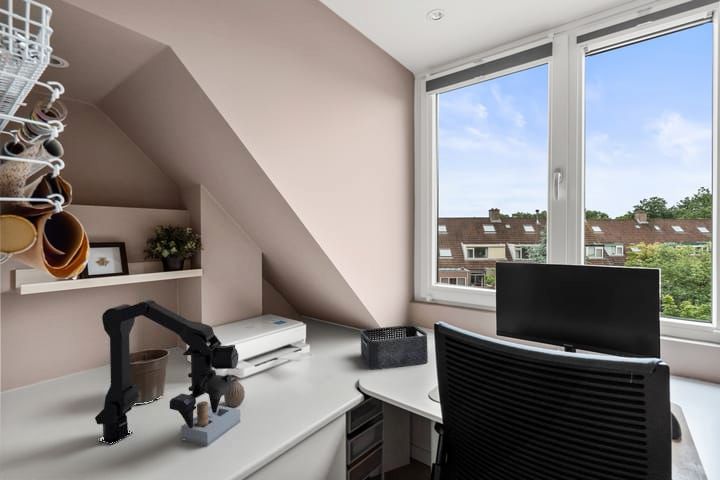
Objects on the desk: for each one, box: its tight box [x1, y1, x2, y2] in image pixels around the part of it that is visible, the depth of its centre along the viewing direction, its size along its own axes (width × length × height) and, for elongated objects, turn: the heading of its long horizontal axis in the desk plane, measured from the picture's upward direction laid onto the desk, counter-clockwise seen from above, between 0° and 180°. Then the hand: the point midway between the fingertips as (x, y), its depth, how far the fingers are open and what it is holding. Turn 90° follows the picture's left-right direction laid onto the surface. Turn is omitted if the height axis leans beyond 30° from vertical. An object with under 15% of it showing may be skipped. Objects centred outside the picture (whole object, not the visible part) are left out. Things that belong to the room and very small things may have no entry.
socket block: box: [180, 405, 241, 447], centre depth 112 cm, size 10×14×4 cm
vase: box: [223, 378, 246, 408], centre depth 129 cm, size 7×7×9 cm
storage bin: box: [360, 324, 429, 370], centre depth 171 cm, size 29×19×13 cm
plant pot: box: [130, 348, 171, 403], centre depth 135 cm, size 16×16×16 cm
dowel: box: [196, 400, 209, 428], centre depth 109 cm, size 3×3×9 cm
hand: (203, 419), depth 109 cm, fingers open, 9 cm apart
